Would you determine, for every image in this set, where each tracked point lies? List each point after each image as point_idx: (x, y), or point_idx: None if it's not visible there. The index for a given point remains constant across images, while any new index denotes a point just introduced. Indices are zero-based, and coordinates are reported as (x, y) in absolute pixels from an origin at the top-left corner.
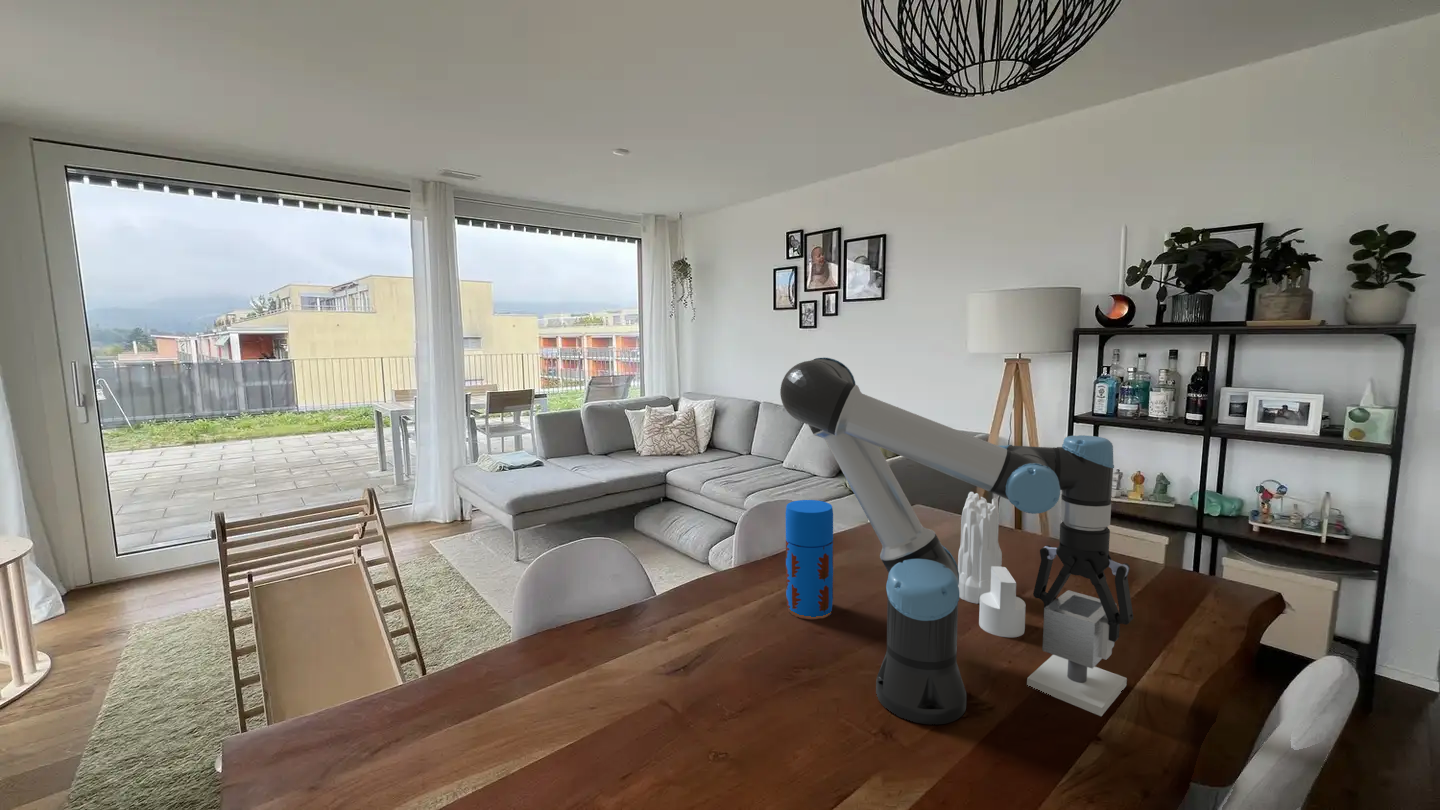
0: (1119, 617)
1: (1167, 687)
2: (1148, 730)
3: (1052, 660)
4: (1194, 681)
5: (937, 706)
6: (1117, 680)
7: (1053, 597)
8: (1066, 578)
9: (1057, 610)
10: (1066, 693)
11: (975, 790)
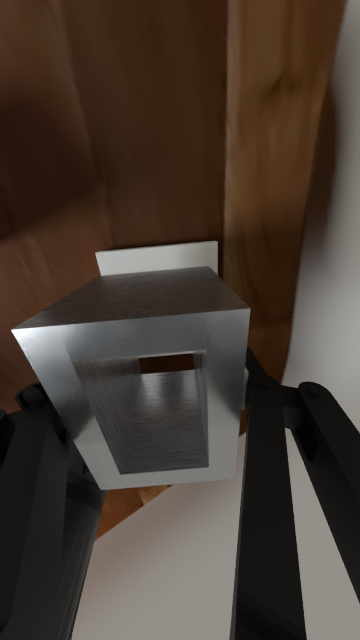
0: (286, 424)
1: (268, 179)
2: (261, 329)
3: None
4: (312, 87)
5: None
6: (209, 264)
7: (67, 457)
8: (44, 601)
9: (131, 481)
10: (174, 353)
11: None
